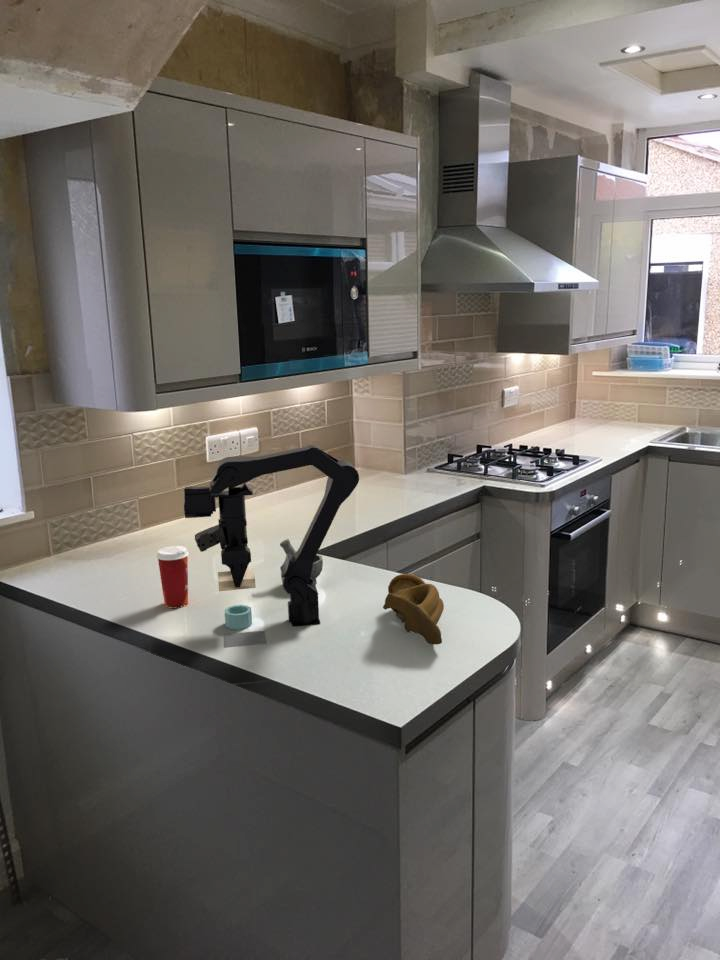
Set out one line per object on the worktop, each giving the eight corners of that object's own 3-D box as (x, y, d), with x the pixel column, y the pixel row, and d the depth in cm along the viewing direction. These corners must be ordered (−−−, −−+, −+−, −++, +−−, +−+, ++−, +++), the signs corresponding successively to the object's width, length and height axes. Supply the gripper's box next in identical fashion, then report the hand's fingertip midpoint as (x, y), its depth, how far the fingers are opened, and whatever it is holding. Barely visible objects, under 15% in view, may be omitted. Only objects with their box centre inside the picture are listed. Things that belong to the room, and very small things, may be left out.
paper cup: (198, 603, 193) (194, 549, 190) (172, 612, 188) (168, 557, 185) (179, 595, 198) (175, 543, 195) (153, 604, 193) (149, 550, 190)
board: (253, 578, 180) (253, 569, 179) (255, 587, 174) (255, 578, 173) (218, 581, 178) (217, 572, 178) (219, 591, 172) (218, 581, 172)
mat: (264, 632, 175) (264, 630, 175) (266, 645, 169) (266, 643, 168) (224, 635, 174) (223, 634, 174) (224, 649, 167) (224, 647, 167)
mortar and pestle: (327, 578, 209) (325, 535, 206) (319, 591, 200) (317, 546, 197) (286, 576, 211) (284, 534, 208) (276, 589, 202) (274, 544, 199)
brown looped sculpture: (347, 612, 166) (379, 564, 186) (369, 663, 170) (398, 610, 189) (425, 597, 158) (451, 548, 177) (447, 651, 162) (470, 598, 181)
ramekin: (251, 620, 182) (250, 603, 182) (252, 630, 177) (251, 613, 176) (225, 622, 181) (224, 606, 181) (225, 632, 176) (224, 616, 175)
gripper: (195, 507, 180) (200, 571, 183) (195, 529, 162) (200, 600, 165) (244, 503, 182) (248, 567, 185) (249, 525, 164) (253, 595, 168)
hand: (236, 581), depth 176 cm, fingers closed on board, 6 cm apart
